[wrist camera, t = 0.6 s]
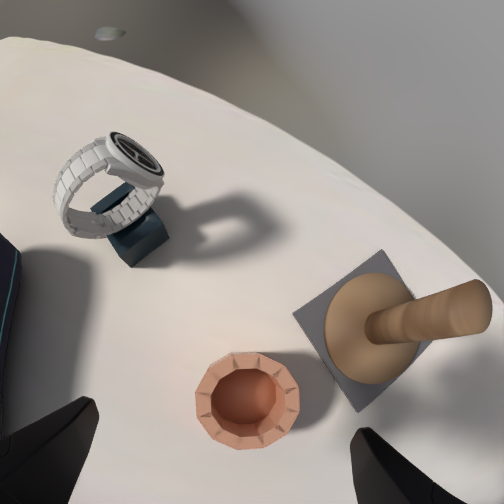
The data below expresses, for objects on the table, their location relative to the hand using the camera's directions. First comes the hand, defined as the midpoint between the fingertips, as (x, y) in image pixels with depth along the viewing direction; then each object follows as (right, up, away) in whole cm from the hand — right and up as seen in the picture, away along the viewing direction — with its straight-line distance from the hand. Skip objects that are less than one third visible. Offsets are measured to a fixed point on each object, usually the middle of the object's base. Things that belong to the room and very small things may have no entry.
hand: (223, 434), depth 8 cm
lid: (+12, -1, +16) cm, 20 cm away
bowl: (0, -6, +13) cm, 14 cm away
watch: (-10, +8, +17) cm, 21 cm away
